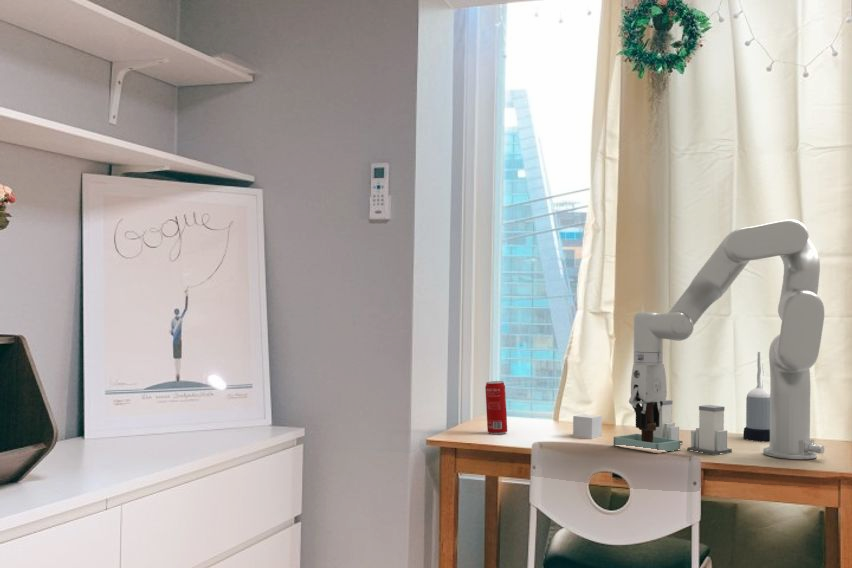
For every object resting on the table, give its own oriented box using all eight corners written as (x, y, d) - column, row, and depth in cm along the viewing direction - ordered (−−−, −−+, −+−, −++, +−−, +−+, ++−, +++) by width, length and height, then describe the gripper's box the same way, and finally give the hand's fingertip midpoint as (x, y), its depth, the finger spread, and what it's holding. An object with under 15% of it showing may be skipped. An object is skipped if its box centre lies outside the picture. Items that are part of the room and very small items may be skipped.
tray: (680, 450, 230) (680, 440, 230) (657, 454, 223) (657, 444, 223) (636, 442, 240) (636, 433, 240) (613, 446, 234) (613, 436, 234)
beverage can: (510, 434, 252) (511, 382, 252) (490, 435, 250) (491, 382, 250) (501, 431, 257) (502, 380, 258) (481, 432, 255) (482, 380, 255)
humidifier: (760, 436, 255) (761, 350, 256) (780, 440, 247) (780, 352, 248) (737, 437, 253) (738, 351, 253) (756, 442, 245) (757, 352, 245)
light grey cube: (601, 436, 251) (602, 416, 251) (591, 439, 246) (592, 418, 246) (583, 434, 254) (583, 413, 254) (572, 436, 250) (573, 415, 250)
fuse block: (731, 452, 228) (732, 406, 228) (714, 455, 223) (714, 408, 223) (658, 439, 246) (658, 398, 246) (640, 442, 241) (640, 399, 241)
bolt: (657, 445, 228) (658, 387, 229) (637, 444, 229) (638, 387, 230) (656, 441, 234) (656, 385, 234) (637, 440, 235) (637, 385, 235)
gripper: (639, 360, 224) (639, 432, 224) (678, 358, 235) (678, 426, 234) (616, 359, 230) (615, 428, 229) (655, 356, 240) (655, 423, 240)
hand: (647, 426), depth 232 cm, fingers closed on bolt, 4 cm apart
